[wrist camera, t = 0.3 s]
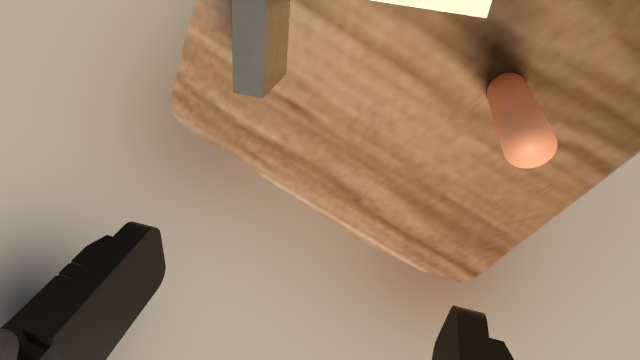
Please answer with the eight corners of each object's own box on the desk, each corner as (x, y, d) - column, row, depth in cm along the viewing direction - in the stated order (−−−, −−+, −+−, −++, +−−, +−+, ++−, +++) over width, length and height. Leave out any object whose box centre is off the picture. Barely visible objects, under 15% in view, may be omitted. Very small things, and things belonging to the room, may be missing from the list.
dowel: (493, 69, 33) (513, 120, 24) (532, 76, 32) (566, 130, 24) (481, 104, 34) (496, 163, 26) (518, 110, 34) (545, 172, 26)
